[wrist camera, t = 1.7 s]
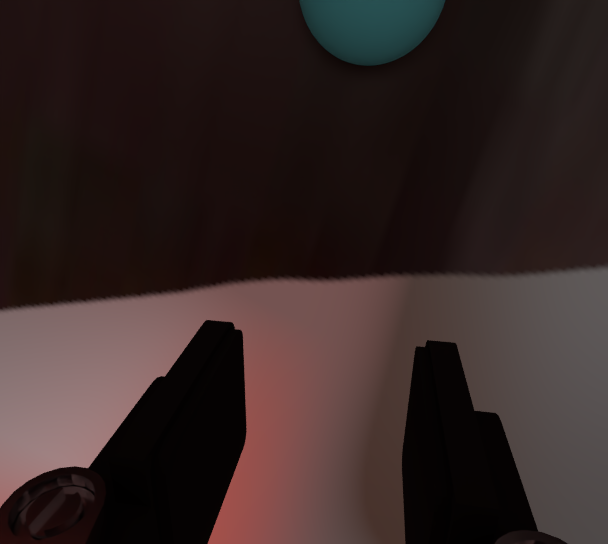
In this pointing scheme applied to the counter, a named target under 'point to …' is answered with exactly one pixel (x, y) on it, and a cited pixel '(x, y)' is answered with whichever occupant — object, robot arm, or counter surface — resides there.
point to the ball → (370, 27)
